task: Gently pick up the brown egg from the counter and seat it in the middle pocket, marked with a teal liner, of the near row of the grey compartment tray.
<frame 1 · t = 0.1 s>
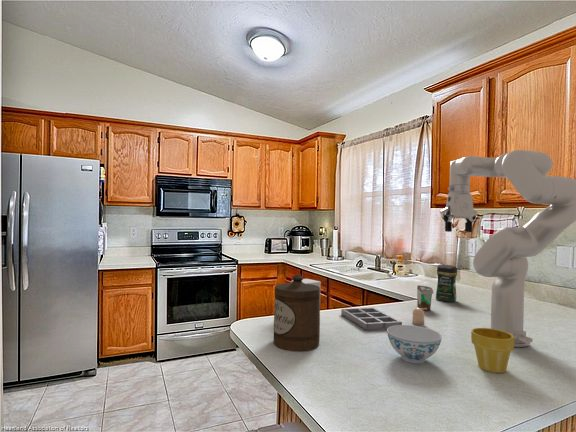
hand: (458, 231, 145), 37 cm above the countertop, tool pointing down, fingers open, 9 cm apart
egg: (418, 323, 141), on the countertop
food container: (425, 309, 164), on the countertop
coffee jar: (446, 300, 185), on the countertop
supplement box: (304, 317, 145), on the countertop
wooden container: (296, 343, 114), on the countertop
plant pot: (491, 369, 98), on the countertop
grey compartment tray: (369, 321, 142), on the countertop
chinaware: (413, 359, 103), on the countertop
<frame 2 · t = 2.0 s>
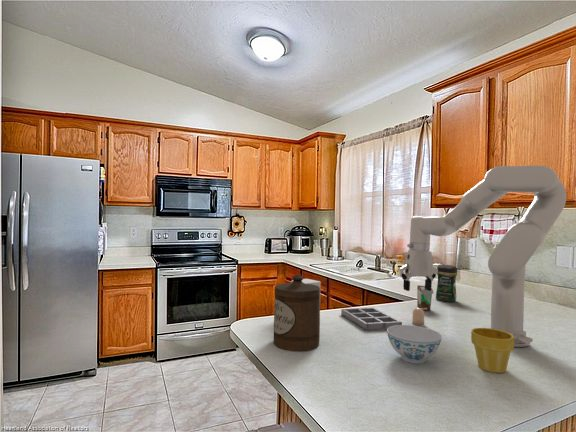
hand: (417, 290, 141), 13 cm above the countertop, tool pointing down, fingers open, 9 cm apart
nothing on the countertop moved.
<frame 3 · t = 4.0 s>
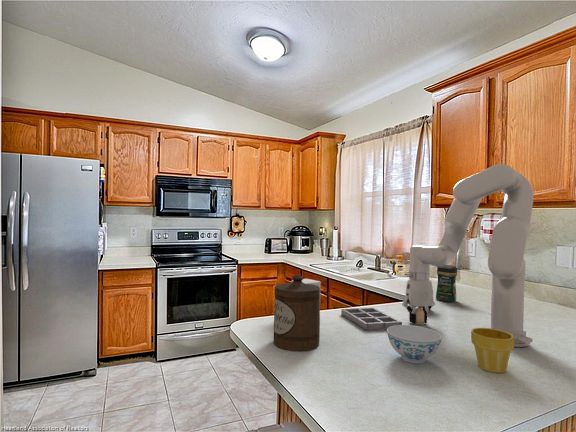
hand: (418, 322, 141), 1 cm above the countertop, tool pointing down, fingers closed on egg, 4 cm apart
egg: (418, 323, 141), on the countertop, touching gripper
everything else where it was.
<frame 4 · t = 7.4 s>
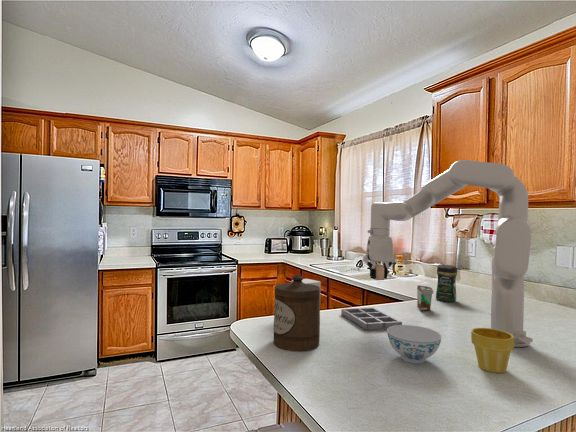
hand: (378, 277, 143), 17 cm above the countertop, tool pointing down, fingers closed on egg, 4 cm apart
egg: (378, 279, 143), point 17 cm above the countertop, touching gripper
everything else where it was.
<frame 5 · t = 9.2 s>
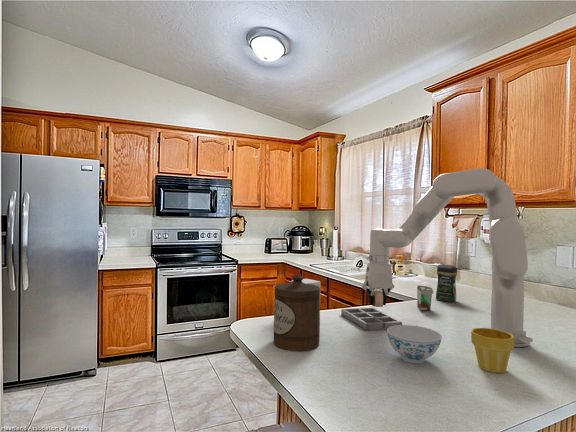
hand: (377, 304, 143), 7 cm above the countertop, tool pointing down, fingers closed on egg, 4 cm apart
egg: (377, 305, 143), point 6 cm above the countertop, touching gripper
everything else where it was.
when the fingers open (3 cm above the countertop, at t = 10.7 s): egg drops 2 cm, resting on grey compartment tray.
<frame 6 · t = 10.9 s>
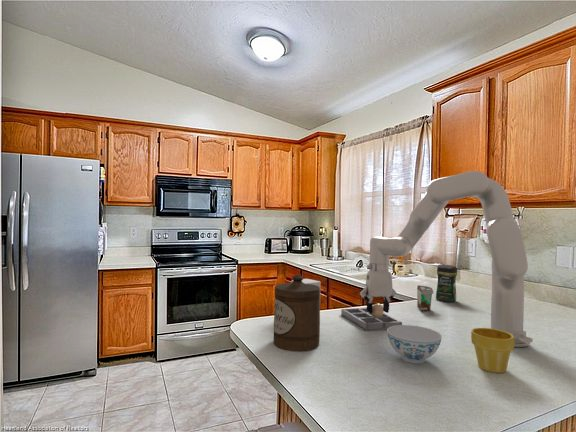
hand: (377, 311, 143), 4 cm above the countertop, tool pointing down, fingers open, 6 cm apart
egg: (377, 319, 143), point 1 cm above the countertop, touching grey compartment tray
everything else where it was.
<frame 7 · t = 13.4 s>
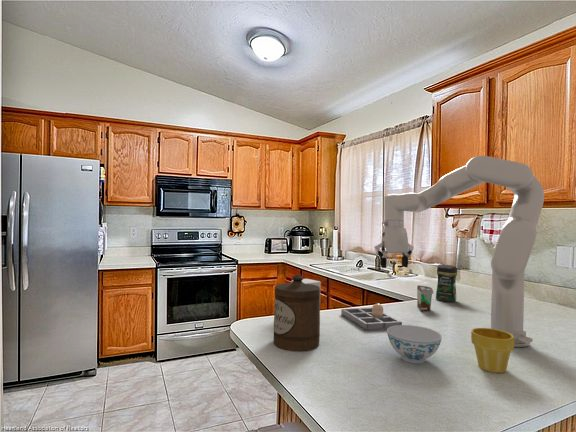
hand: (394, 267, 143), 22 cm above the countertop, tool pointing down, fingers open, 9 cm apart
nothing on the countertop moved.
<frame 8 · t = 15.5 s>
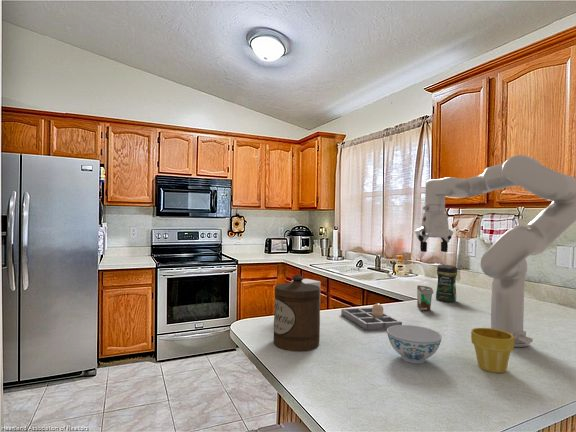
hand: (433, 251, 145), 28 cm above the countertop, tool pointing down, fingers open, 9 cm apart
nothing on the countertop moved.
at the end: egg 0.1 cm from the target spot on the grey compartment tray, point 0.7 cm above the grey compartment tray's base; egg tilted 0°; the gripper is holding nothing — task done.
